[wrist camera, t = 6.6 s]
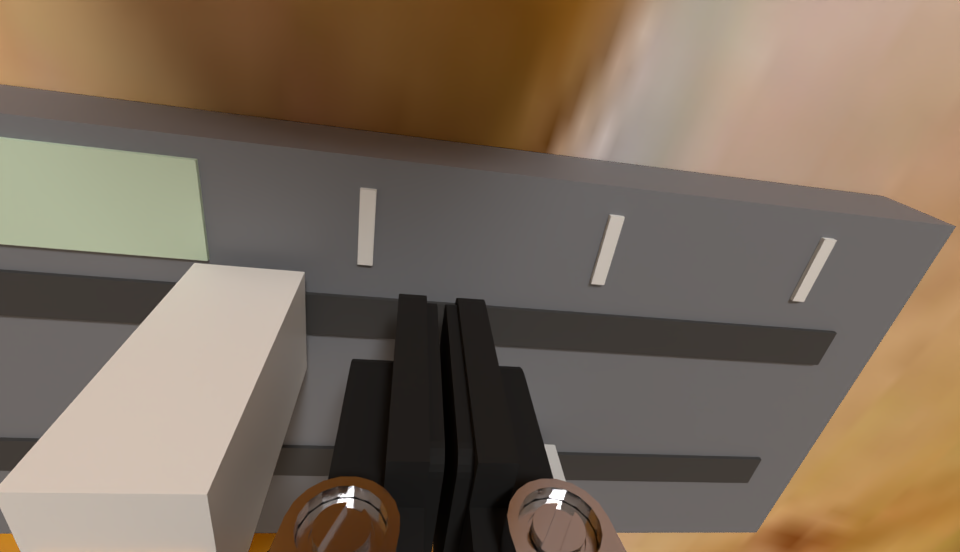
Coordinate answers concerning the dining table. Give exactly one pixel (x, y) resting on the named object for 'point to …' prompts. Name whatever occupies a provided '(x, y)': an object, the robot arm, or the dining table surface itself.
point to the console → (462, 286)
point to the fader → (172, 425)
